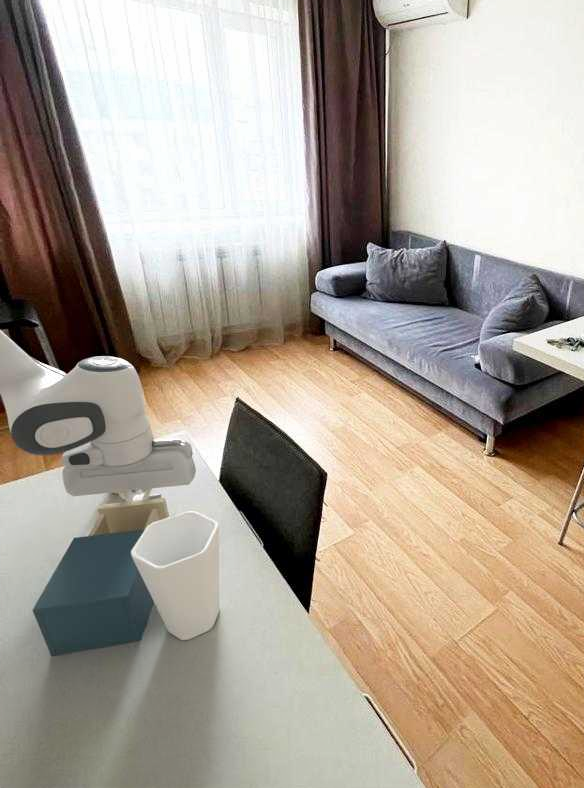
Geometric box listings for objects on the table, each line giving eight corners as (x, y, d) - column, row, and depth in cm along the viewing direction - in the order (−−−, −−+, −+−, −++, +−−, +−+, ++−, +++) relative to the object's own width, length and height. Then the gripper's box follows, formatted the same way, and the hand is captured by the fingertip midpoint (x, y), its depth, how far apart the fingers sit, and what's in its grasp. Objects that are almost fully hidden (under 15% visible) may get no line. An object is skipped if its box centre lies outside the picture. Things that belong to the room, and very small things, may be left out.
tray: (118, 519, 95) (109, 487, 92) (178, 513, 97) (171, 481, 94) (82, 594, 80) (69, 558, 76) (153, 583, 82) (144, 548, 79)
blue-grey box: (88, 580, 83) (73, 537, 79) (164, 569, 86) (154, 527, 82) (51, 656, 71) (32, 610, 67) (141, 641, 74) (127, 595, 70)
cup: (140, 630, 76) (115, 546, 69) (196, 582, 84) (179, 503, 77) (192, 662, 72) (171, 577, 65) (245, 608, 80) (232, 528, 73)
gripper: (193, 428, 92) (204, 488, 97) (66, 438, 87) (85, 500, 92) (185, 448, 86) (197, 509, 92) (49, 459, 81) (70, 524, 87)
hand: (140, 505), depth 92 cm, fingers closed
